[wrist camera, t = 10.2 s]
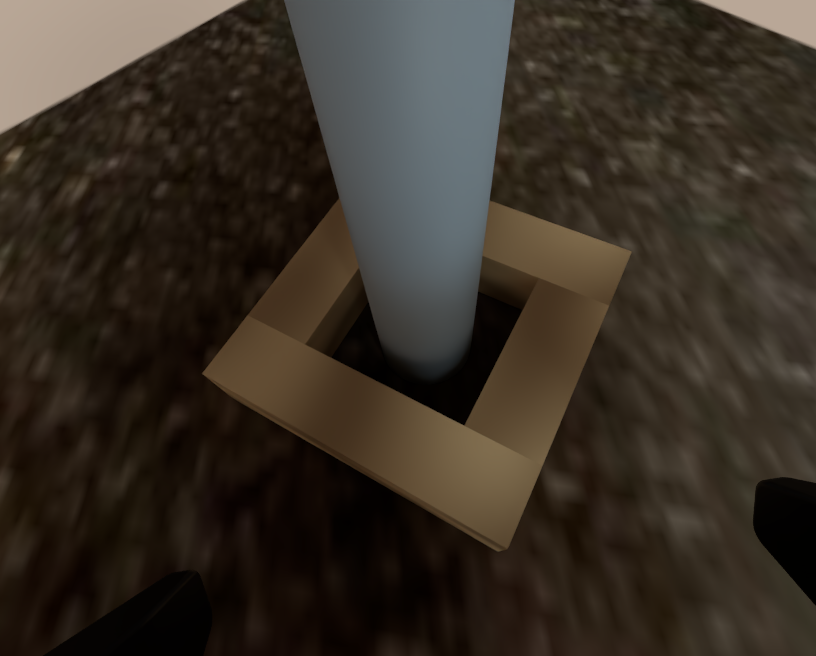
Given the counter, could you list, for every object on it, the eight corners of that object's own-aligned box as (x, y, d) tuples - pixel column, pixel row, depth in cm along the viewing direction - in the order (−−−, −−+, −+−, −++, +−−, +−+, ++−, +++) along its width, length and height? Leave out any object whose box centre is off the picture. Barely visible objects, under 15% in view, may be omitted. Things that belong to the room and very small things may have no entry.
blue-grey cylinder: (489, 348, 18) (652, -414, 4) (419, 403, 17) (315, -315, 3) (432, 289, 19) (405, -430, 5) (364, 337, 19) (125, -364, 5)
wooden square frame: (609, 288, 19) (631, 251, 17) (497, 551, 15) (507, 549, 13) (377, 199, 22) (370, 158, 20) (231, 397, 18) (202, 373, 16)
